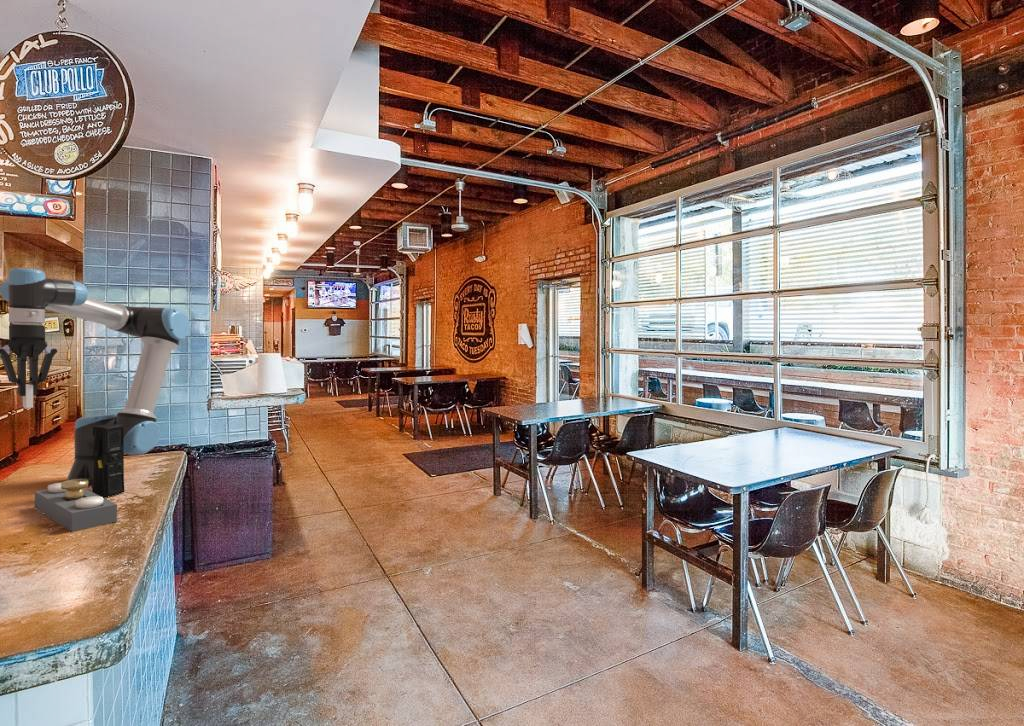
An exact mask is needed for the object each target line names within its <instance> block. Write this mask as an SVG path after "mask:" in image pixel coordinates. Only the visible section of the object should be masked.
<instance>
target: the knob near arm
mask: <svg viewBox="0 0 1024 726" xmlns="http://www.w3.org/2000/svg"><path fill="white" fill-rule="evenodd" d="M47 489H48V492H51V493H53V494H55V493H61V492H66V490H65V489H61V482H56V483H51V484H48V485H47ZM65 501H66V500H65Z"/></svg>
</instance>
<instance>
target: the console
mask: <svg viewBox="0 0 1024 726" xmlns="http://www.w3.org/2000/svg"><path fill="white" fill-rule="evenodd" d="M92 496H99V495H97V494H95V493H93V492H92V490H91V491H90V490H88V489H86V487H84V498H85V497H92ZM100 497H101V496H100ZM65 500H66V492H61V493H55V494H53V493H51V492H48V488H47V489H42V490H35V491H34V509H35V508H36V509H35V510H37V511H38V510H39V511H38V512H40V513H41V512H42V513H41V514H43V513H44V514H45V516H46V515H47V516H46V517H48V518H49V517H50V518H49V519H51V520H53V521H54V522H55V523H58V524H59V525H61V526H62V527H63V528H65V529H67V530H68V531H70V532H71V531H72V532H73V531H74V532H78V531H82V529H83V530H86V529H91V528H92V529H93V528H95V527H96V526H97V527H100V525H101V526H105V525H104V524H106V525H110V524H113V523H112V522H115V523H118V504H117V503H115V502H114V501H112V500H109V499H107V498H103V504H102V505H100V506H98V507H93V508H88V509H83V510H82V509H80V508H76V507H75V504H76V500H72V501H65ZM44 514H43V515H44ZM109 523H110V524H109ZM77 530H78V531H77Z"/></svg>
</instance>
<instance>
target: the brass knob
mask: <svg viewBox="0 0 1024 726" xmlns="http://www.w3.org/2000/svg"><path fill="white" fill-rule="evenodd" d="M60 483H61V489H65V490H66V501H72V500H78V499H80V498H84V488H87V487H88V479H72V480H68V479H66V480H63V481H62V482H60Z"/></svg>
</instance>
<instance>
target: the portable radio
mask: <svg viewBox="0 0 1024 726" xmlns="http://www.w3.org/2000/svg"><path fill="white" fill-rule="evenodd" d="M93 435H94V455H93V457H94V485H92V487H91V492H93V493H95V494H97V495H99V496H101V497H107V498H109V497H108V496H110V497H113V496H112V495H114V496H116V495H115V494H117V495H119V494H118V493H121V494H123V493H122V492H124V493H125V469H124V468H125V465H124V463H125V462H124V461H125V456H124V425H123V424H117V422H116V417H115V422H114V424H108V425H101V426H94V427H93Z"/></svg>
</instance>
